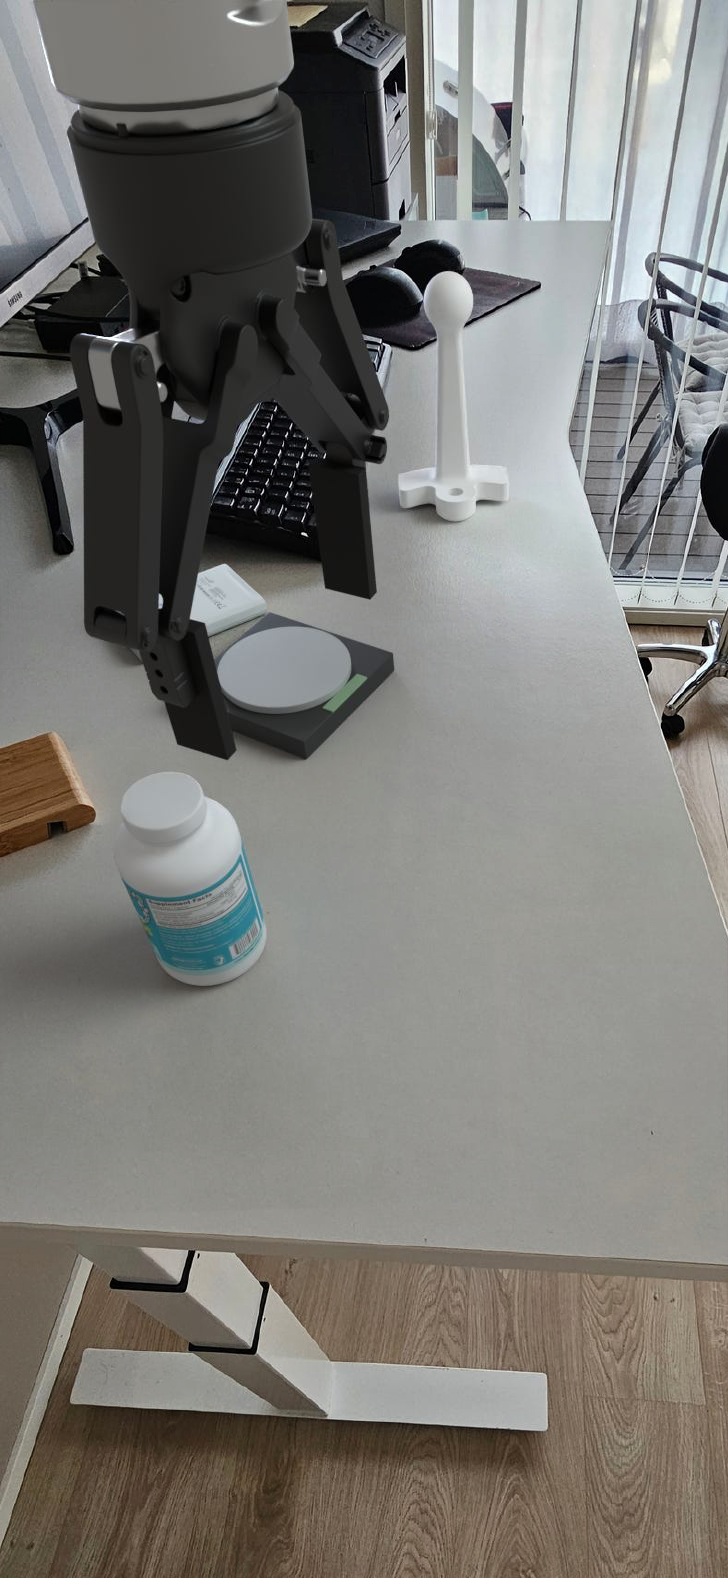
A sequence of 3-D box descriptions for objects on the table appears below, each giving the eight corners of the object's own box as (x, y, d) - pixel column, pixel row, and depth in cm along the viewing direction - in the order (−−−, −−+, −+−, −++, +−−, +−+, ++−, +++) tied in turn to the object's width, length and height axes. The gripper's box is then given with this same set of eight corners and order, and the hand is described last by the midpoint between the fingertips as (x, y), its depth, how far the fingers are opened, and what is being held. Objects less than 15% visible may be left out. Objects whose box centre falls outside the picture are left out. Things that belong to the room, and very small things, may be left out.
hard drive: (106, 623, 90) (227, 576, 94) (143, 666, 86) (268, 615, 90) (100, 606, 89) (223, 560, 93) (138, 649, 85) (265, 598, 89)
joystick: (504, 483, 103) (507, 259, 88) (512, 519, 99) (518, 290, 83) (398, 490, 103) (383, 268, 88) (402, 527, 99) (386, 299, 83)
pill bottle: (167, 906, 68) (108, 756, 58) (273, 903, 68) (234, 751, 58) (149, 994, 64) (82, 847, 53) (263, 990, 64) (218, 843, 53)
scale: (179, 710, 82) (171, 685, 80) (272, 629, 89) (268, 604, 87) (306, 759, 78) (302, 734, 76) (395, 670, 84) (392, 645, 82)
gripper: (12, 240, 24) (206, 855, 40) (452, 22, 37) (460, 551, 54) (-213, 206, 26) (60, 804, 42) (281, 12, 39) (340, 524, 56)
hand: (284, 663), depth 48 cm, fingers open, 13 cm apart
